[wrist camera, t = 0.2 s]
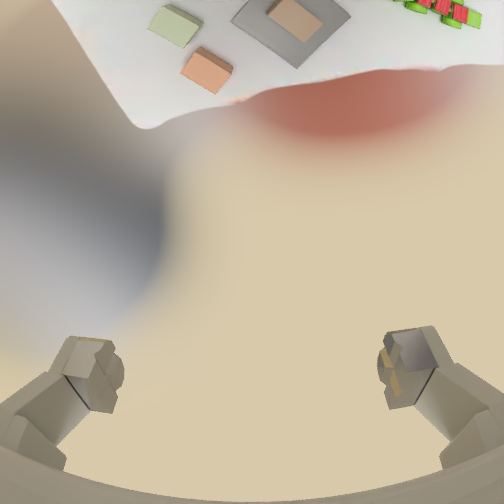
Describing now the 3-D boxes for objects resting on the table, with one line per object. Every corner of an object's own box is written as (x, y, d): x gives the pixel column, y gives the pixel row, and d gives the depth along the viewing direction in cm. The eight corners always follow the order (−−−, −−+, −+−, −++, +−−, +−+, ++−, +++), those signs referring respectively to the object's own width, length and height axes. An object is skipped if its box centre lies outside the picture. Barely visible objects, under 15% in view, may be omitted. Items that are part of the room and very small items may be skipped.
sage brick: (169, 4, 37) (161, 6, 34) (203, 23, 41) (199, 26, 37) (155, 24, 40) (146, 28, 37) (188, 43, 43) (183, 48, 40)
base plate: (285, -36, 32) (289, -39, 28) (349, 16, 39) (360, 20, 35) (230, 21, 41) (228, 25, 37) (295, 67, 47) (300, 77, 43)
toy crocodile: (474, 7, 32) (493, 13, 28) (469, 34, 37) (487, 43, 33) (385, -30, 31) (400, -30, 27) (381, 2, 36) (395, 5, 32)
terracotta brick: (199, 46, 44) (195, 52, 41) (233, 67, 47) (231, 74, 44) (185, 65, 47) (179, 73, 43) (218, 85, 50) (215, 94, 47)
